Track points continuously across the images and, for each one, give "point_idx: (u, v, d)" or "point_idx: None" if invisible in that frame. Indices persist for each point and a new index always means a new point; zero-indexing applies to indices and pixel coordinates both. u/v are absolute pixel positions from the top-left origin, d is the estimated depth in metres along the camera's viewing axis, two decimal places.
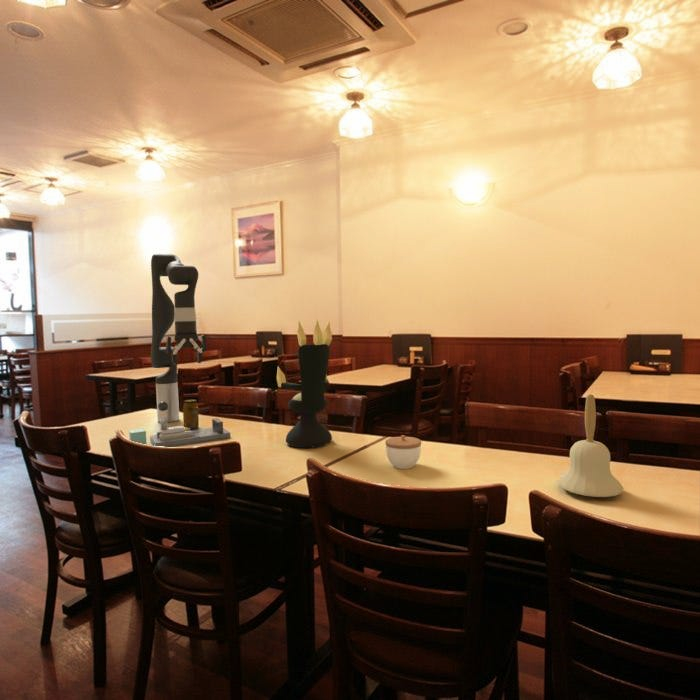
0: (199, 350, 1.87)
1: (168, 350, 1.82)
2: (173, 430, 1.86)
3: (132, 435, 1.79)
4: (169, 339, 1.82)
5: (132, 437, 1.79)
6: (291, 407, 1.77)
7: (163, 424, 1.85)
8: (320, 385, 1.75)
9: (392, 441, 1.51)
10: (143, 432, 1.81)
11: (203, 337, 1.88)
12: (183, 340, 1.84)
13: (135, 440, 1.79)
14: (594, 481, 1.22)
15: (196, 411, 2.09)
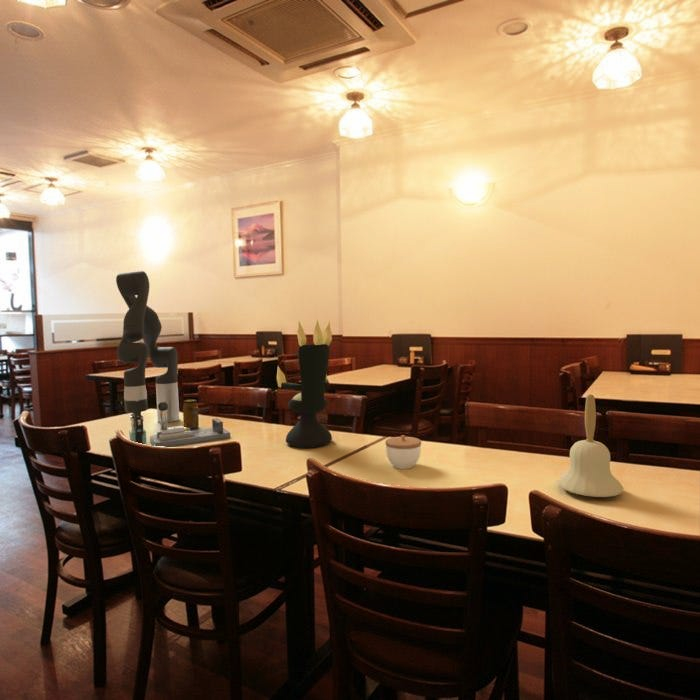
0: None
1: None
2: (173, 430, 1.86)
3: (132, 435, 1.79)
4: (142, 421, 1.77)
5: (132, 437, 1.79)
6: (291, 407, 1.77)
7: (163, 424, 1.85)
8: (320, 385, 1.75)
9: (392, 441, 1.51)
10: None
11: None
12: None
13: (135, 440, 1.79)
14: (594, 481, 1.22)
15: (196, 411, 2.09)
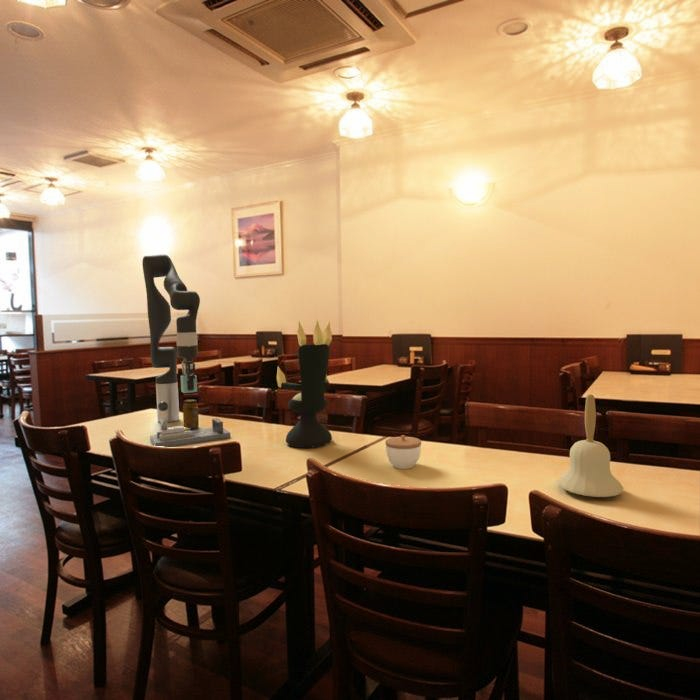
0: None
1: (194, 376, 1.86)
2: (173, 430, 1.86)
3: (184, 379, 1.87)
4: (194, 365, 1.85)
5: (184, 381, 1.87)
6: (291, 407, 1.77)
7: (163, 424, 1.85)
8: (320, 385, 1.75)
9: (392, 441, 1.51)
10: None
11: None
12: None
13: None
14: (594, 481, 1.22)
15: (196, 411, 2.09)
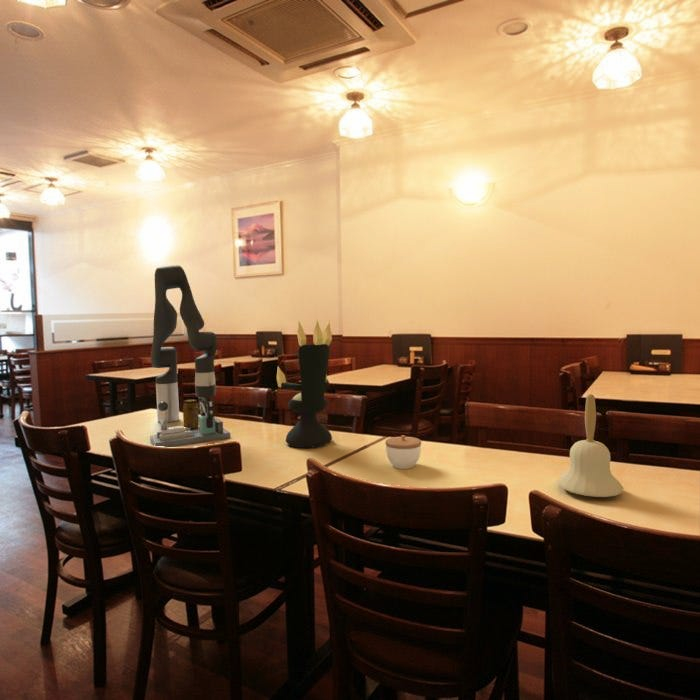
0: None
1: None
2: (173, 430, 1.86)
3: (203, 420, 1.91)
4: None
5: (203, 422, 1.91)
6: (291, 407, 1.77)
7: (163, 424, 1.85)
8: (320, 385, 1.75)
9: (392, 441, 1.51)
10: None
11: None
12: None
13: (205, 425, 1.92)
14: (594, 481, 1.22)
15: (196, 411, 2.09)
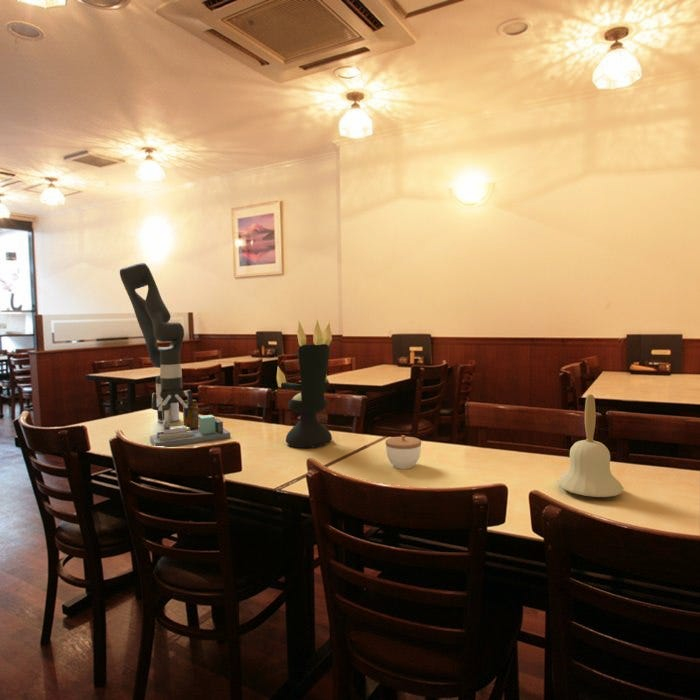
0: None
1: None
2: (175, 430, 1.87)
3: (203, 420, 1.91)
4: None
5: (203, 422, 1.91)
6: (291, 407, 1.77)
7: (166, 424, 1.86)
8: (320, 385, 1.75)
9: (392, 441, 1.51)
10: (212, 418, 1.93)
11: None
12: None
13: (205, 425, 1.92)
14: (594, 481, 1.22)
15: (196, 411, 2.09)
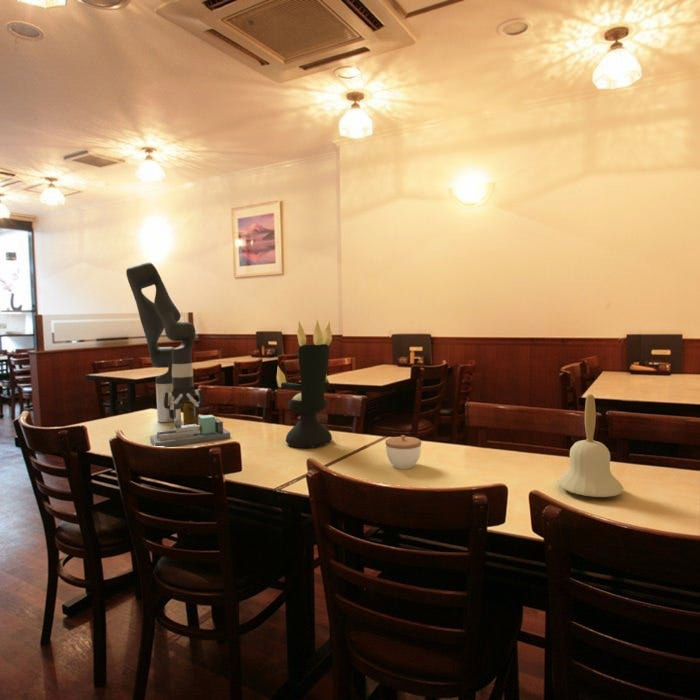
0: None
1: None
2: (187, 428, 1.89)
3: (203, 420, 1.91)
4: None
5: (203, 422, 1.91)
6: (291, 407, 1.77)
7: (177, 422, 1.88)
8: (320, 385, 1.75)
9: (392, 441, 1.51)
10: (212, 418, 1.93)
11: None
12: None
13: (205, 425, 1.92)
14: (594, 481, 1.22)
15: None
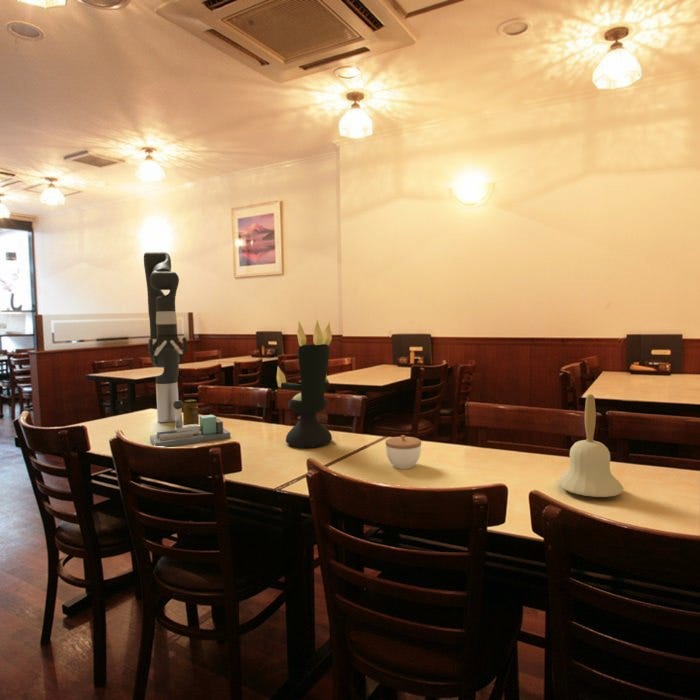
0: None
1: None
2: (188, 428, 1.89)
3: (204, 420, 1.91)
4: None
5: (204, 422, 1.91)
6: (291, 407, 1.77)
7: (178, 422, 1.88)
8: (320, 385, 1.75)
9: (392, 441, 1.51)
10: (213, 417, 1.93)
11: None
12: None
13: (206, 425, 1.92)
14: (594, 481, 1.22)
15: (196, 411, 2.09)
